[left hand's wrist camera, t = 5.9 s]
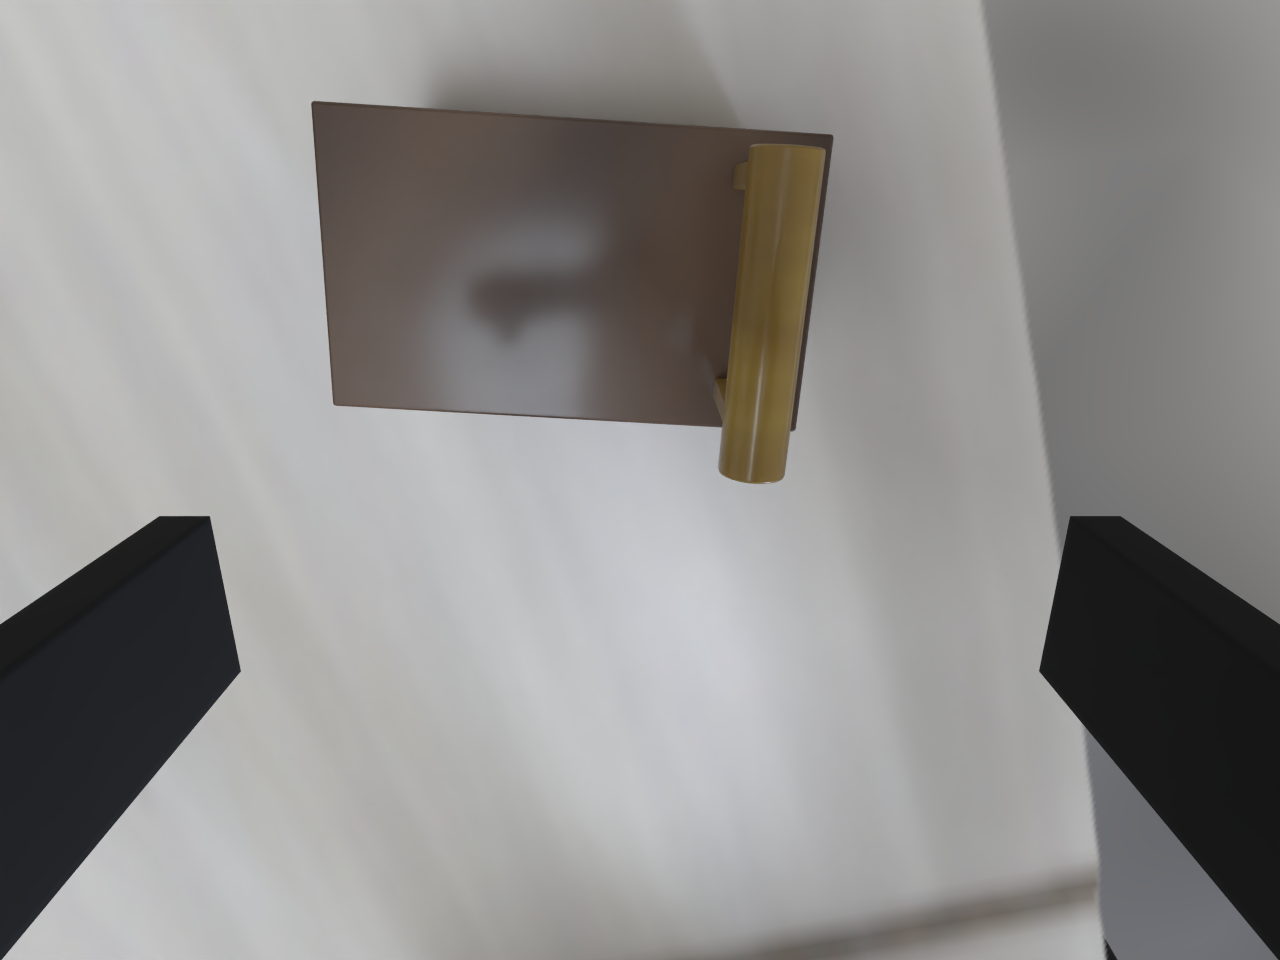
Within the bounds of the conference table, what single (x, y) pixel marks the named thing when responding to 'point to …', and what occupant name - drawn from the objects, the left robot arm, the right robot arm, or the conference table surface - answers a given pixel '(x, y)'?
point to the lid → (572, 269)
